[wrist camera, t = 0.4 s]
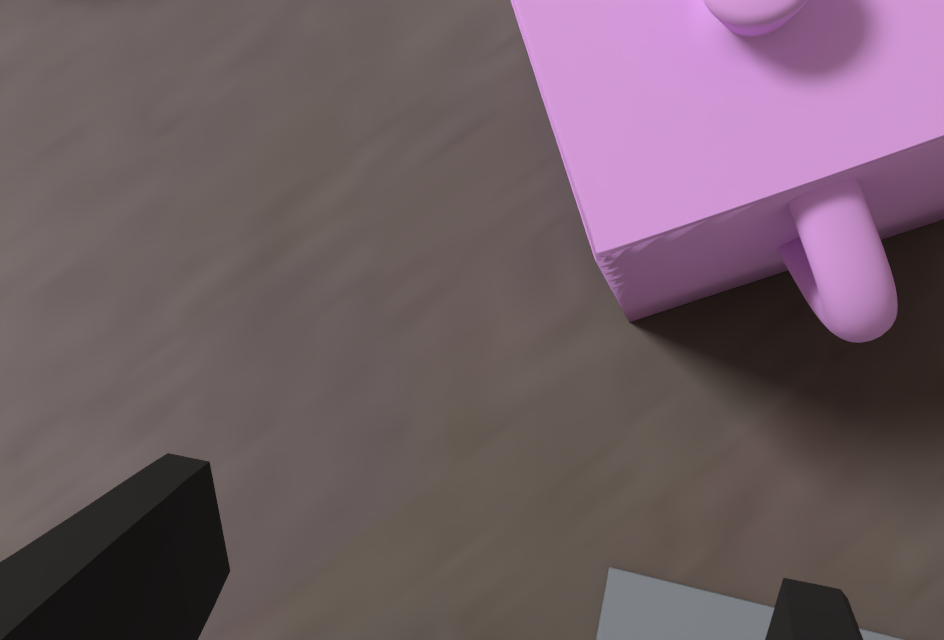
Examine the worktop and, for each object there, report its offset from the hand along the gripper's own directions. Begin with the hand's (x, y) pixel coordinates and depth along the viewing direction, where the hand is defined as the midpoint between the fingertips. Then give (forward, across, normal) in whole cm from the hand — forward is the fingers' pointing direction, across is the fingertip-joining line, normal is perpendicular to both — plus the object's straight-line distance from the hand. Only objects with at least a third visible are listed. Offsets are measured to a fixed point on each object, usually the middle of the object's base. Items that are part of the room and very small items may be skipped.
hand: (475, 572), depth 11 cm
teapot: (+34, -4, +5) cm, 35 cm away
